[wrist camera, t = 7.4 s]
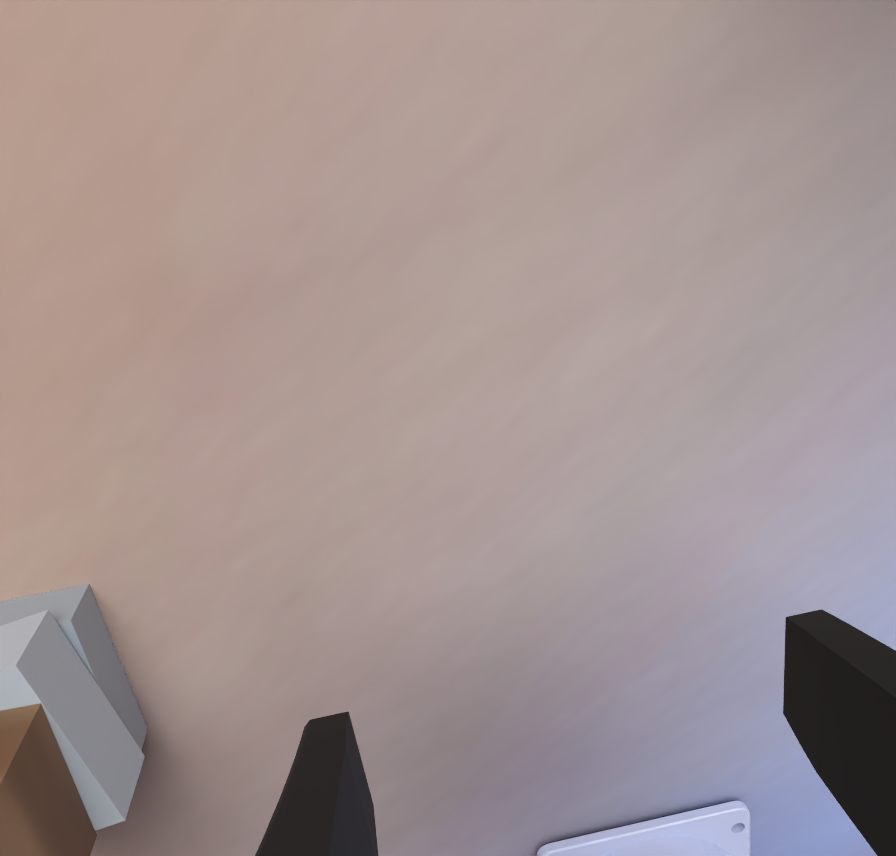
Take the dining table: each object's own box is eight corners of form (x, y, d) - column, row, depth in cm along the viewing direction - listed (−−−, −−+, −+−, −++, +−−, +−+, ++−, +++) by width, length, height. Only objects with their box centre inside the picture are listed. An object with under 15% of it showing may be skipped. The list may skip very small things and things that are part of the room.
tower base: (151, 717, 25) (135, 771, 23) (-25, 755, 24) (-58, 814, 22) (94, 573, 23) (70, 619, 21) (-101, 613, 22) (-145, 664, 20)
